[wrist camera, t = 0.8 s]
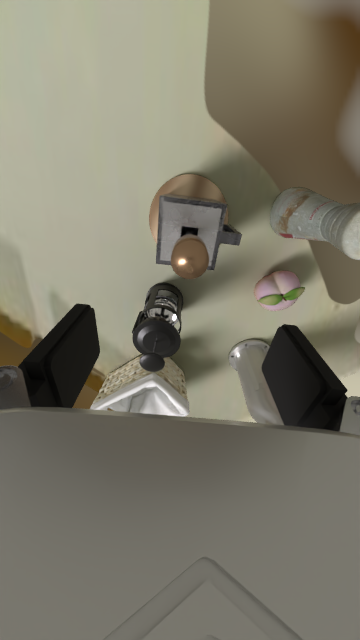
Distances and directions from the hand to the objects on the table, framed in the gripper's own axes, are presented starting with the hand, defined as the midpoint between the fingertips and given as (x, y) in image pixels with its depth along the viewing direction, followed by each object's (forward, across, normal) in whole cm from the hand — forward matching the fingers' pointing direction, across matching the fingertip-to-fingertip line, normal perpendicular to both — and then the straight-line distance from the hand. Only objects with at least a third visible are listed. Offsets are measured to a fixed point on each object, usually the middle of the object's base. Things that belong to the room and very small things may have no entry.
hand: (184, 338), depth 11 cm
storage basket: (+39, +7, +46) cm, 60 cm away
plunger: (+30, 0, -1) cm, 30 cm away
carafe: (+38, -2, -1) cm, 38 cm away
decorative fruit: (+39, -21, +11) cm, 45 cm away
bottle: (+39, -20, -4) cm, 44 cm away
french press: (+39, +4, +18) cm, 43 cm away
